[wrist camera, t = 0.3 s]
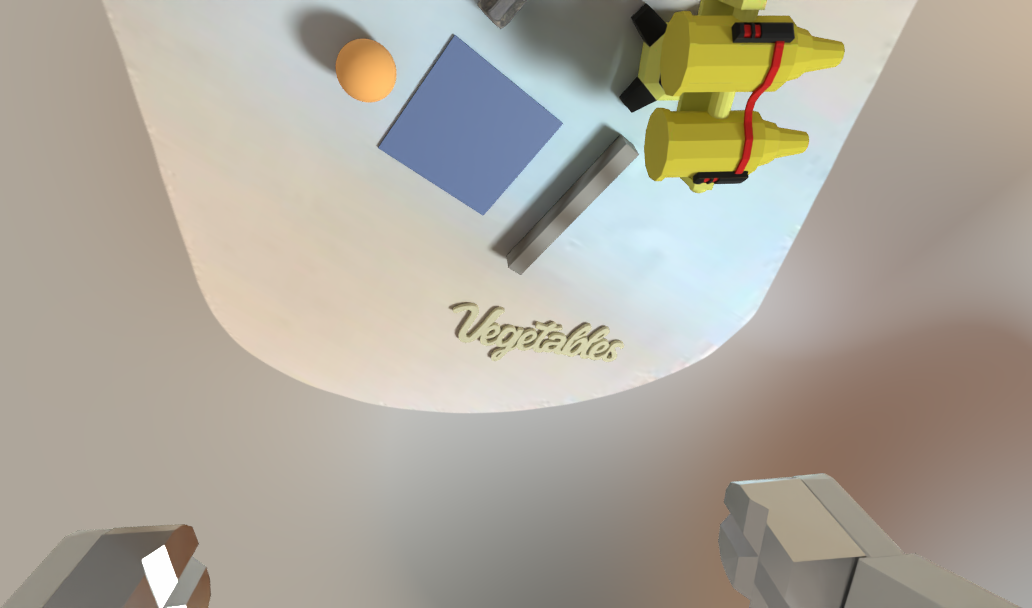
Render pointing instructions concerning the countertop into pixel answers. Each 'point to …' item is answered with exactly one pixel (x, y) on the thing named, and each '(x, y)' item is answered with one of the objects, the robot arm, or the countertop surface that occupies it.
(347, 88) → the orange ball
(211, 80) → the countertop surface
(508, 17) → the pipe
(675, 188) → the countertop surface
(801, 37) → the toy
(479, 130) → the blue mark
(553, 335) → the decorative sign
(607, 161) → the rail
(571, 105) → the countertop surface
